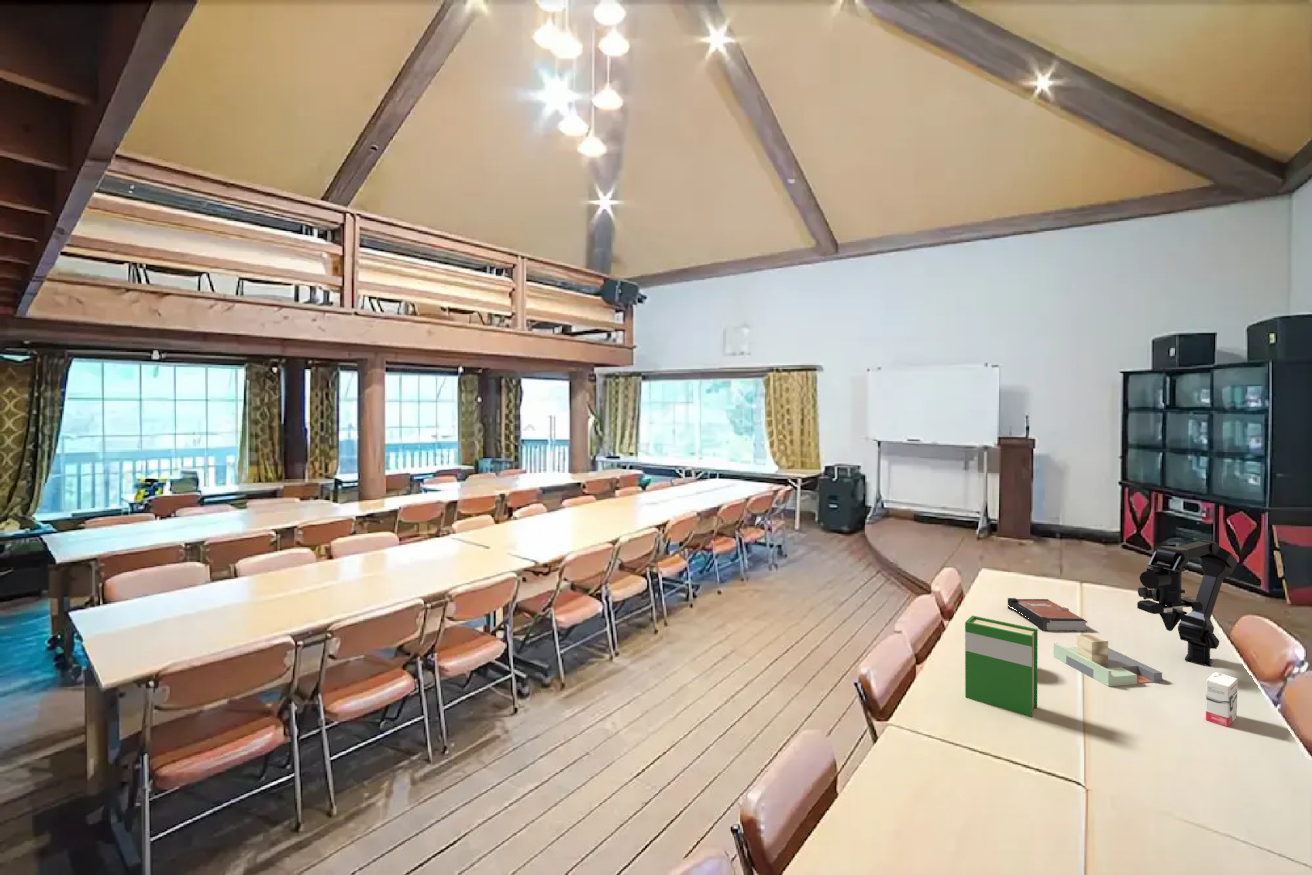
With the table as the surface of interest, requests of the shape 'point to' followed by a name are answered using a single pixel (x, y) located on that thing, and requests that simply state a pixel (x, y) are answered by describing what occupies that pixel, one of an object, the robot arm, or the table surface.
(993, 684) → the hardback book
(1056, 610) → the book
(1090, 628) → the table surface
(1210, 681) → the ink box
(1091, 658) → the beech block
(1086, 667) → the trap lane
